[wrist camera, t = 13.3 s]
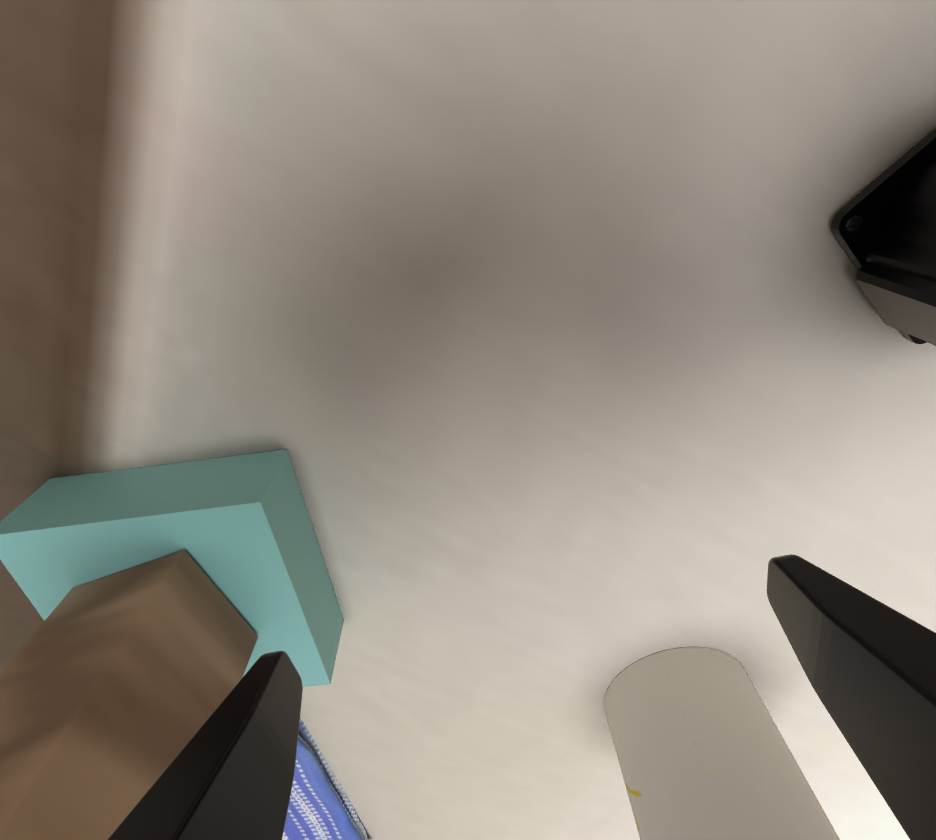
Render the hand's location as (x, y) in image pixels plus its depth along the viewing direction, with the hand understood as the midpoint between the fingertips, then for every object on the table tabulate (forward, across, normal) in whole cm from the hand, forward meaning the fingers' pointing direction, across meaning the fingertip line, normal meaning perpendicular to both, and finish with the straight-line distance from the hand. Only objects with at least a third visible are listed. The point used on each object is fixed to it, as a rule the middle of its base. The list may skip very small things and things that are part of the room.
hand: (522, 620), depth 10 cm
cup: (+12, -6, +22) cm, 26 cm away
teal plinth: (+12, +14, +6) cm, 20 cm away
